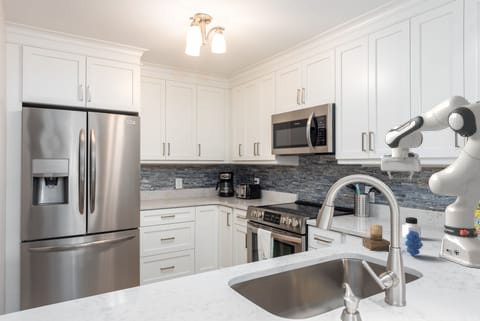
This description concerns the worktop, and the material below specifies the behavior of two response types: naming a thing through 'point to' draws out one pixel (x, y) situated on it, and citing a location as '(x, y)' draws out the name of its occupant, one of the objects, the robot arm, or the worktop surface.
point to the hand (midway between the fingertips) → (400, 179)
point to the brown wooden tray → (376, 244)
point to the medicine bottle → (410, 227)
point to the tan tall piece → (376, 232)
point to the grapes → (413, 243)
